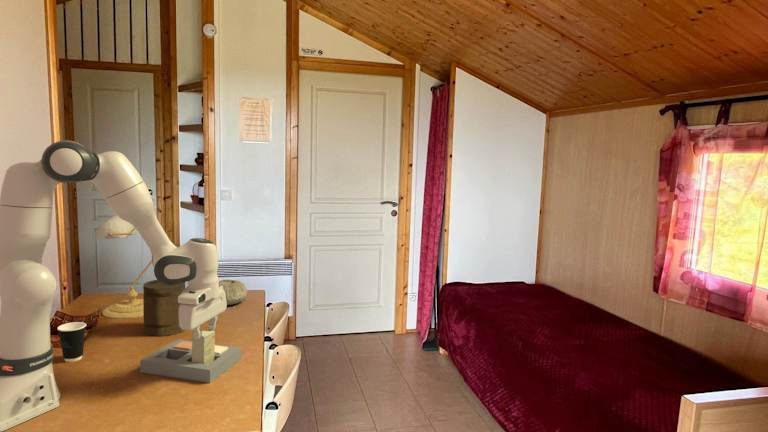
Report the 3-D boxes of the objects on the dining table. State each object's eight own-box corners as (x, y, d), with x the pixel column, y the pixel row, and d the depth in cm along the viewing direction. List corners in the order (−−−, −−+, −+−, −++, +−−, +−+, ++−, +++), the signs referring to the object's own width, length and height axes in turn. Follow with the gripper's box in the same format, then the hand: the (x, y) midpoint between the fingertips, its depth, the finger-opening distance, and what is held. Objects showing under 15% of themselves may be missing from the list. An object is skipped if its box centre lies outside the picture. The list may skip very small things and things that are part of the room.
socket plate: (210, 382, 145) (209, 368, 145) (140, 372, 151) (140, 358, 150) (241, 359, 163) (241, 346, 162) (177, 350, 168) (177, 337, 167)
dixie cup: (88, 352, 164) (86, 320, 163) (87, 361, 157) (85, 328, 156) (59, 356, 160) (58, 323, 159) (57, 365, 153) (56, 331, 152)
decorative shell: (233, 310, 212) (233, 288, 211) (197, 306, 216) (197, 284, 215) (253, 299, 229) (253, 278, 228) (219, 295, 233) (219, 275, 232)
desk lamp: (107, 301, 219) (104, 212, 214) (163, 298, 226) (162, 212, 222) (92, 324, 190) (88, 222, 185) (157, 319, 198) (155, 221, 193)
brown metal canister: (170, 320, 197) (169, 267, 195) (194, 328, 190) (193, 272, 187) (135, 330, 185) (133, 274, 182) (160, 339, 177) (158, 280, 175)
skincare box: (203, 375, 150) (204, 337, 148) (190, 373, 151) (191, 335, 149) (214, 367, 156) (215, 330, 155) (202, 365, 157) (203, 328, 156)
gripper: (213, 281, 161) (214, 321, 163) (173, 299, 141) (175, 345, 143) (230, 282, 159) (232, 323, 161) (193, 301, 140) (194, 347, 142)
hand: (205, 333), depth 152 cm, fingers closed on skincare box, 6 cm apart
